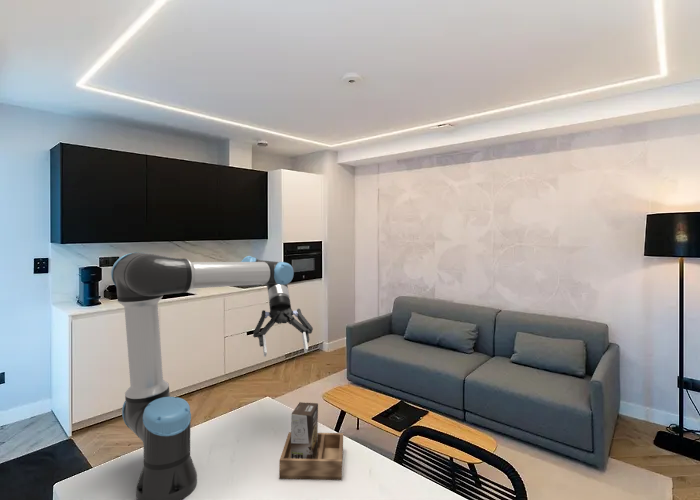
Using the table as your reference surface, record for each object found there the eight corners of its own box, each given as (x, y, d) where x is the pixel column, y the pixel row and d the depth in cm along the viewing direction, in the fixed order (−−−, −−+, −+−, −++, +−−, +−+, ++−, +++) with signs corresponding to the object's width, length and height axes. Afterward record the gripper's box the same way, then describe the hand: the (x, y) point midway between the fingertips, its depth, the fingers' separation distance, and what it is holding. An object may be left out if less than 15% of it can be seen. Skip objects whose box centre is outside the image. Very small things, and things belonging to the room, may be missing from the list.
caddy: (279, 478, 110) (279, 460, 110) (288, 448, 126) (288, 432, 126) (341, 480, 110) (341, 461, 110) (343, 449, 126) (343, 433, 126)
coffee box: (310, 469, 113) (311, 415, 113) (289, 466, 115) (290, 413, 114) (318, 452, 122) (318, 402, 122) (298, 450, 124) (299, 401, 123)
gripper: (310, 304, 147) (320, 354, 133) (243, 307, 138) (246, 361, 125) (314, 293, 142) (325, 343, 128) (244, 295, 133) (248, 350, 120)
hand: (286, 352), depth 126 cm, fingers open, 13 cm apart
